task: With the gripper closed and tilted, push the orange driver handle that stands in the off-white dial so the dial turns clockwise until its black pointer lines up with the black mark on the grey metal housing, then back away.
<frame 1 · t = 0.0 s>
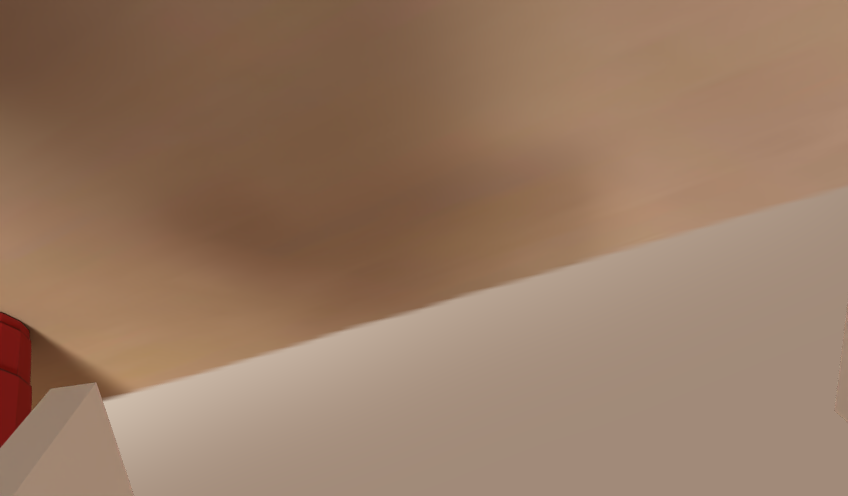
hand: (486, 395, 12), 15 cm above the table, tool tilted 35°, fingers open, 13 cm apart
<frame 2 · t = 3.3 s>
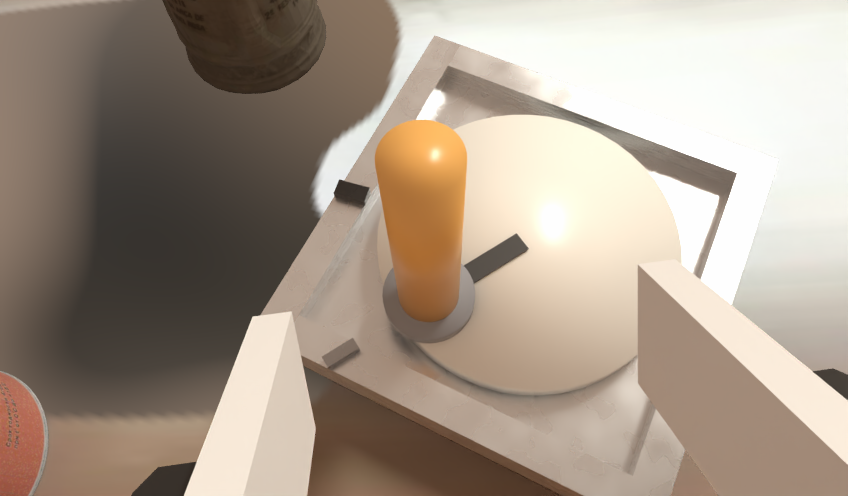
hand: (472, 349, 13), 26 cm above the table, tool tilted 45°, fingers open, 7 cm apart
beer stein: (271, 20, 52), on the table
dial: (538, 183, 33), point 11 cm above the table, hinge at 0.0°
housing: (520, 264, 43), on the table
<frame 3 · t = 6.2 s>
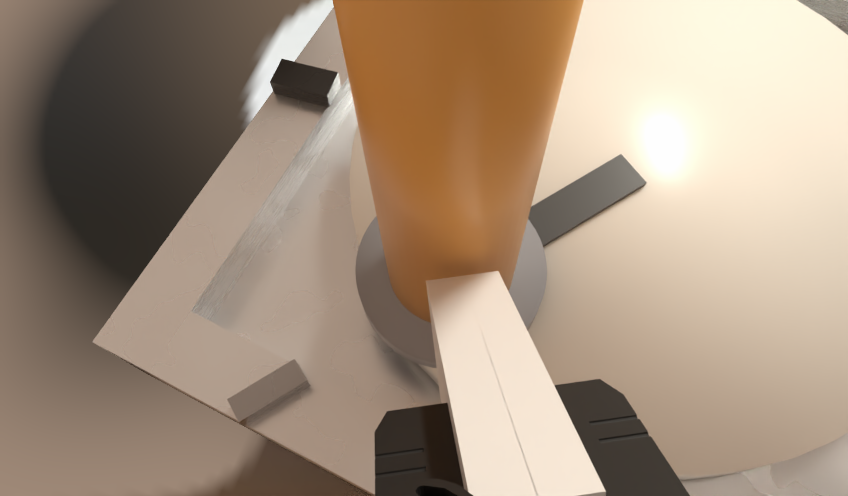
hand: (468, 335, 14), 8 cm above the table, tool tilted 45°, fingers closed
dial: (718, 3, 14), point 11 cm above the table, hinge at 0.5°, touching gripper
housing: (613, 221, 24), on the table
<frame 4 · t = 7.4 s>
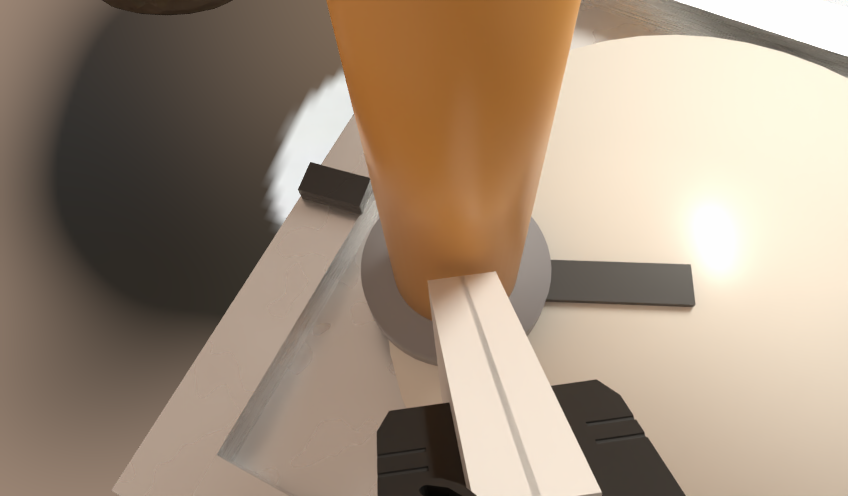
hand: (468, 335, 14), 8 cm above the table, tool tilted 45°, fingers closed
dial: (814, 161, 12), point 11 cm above the table, hinge at 35.4°, touching gripper
housing: (666, 326, 22), on the table
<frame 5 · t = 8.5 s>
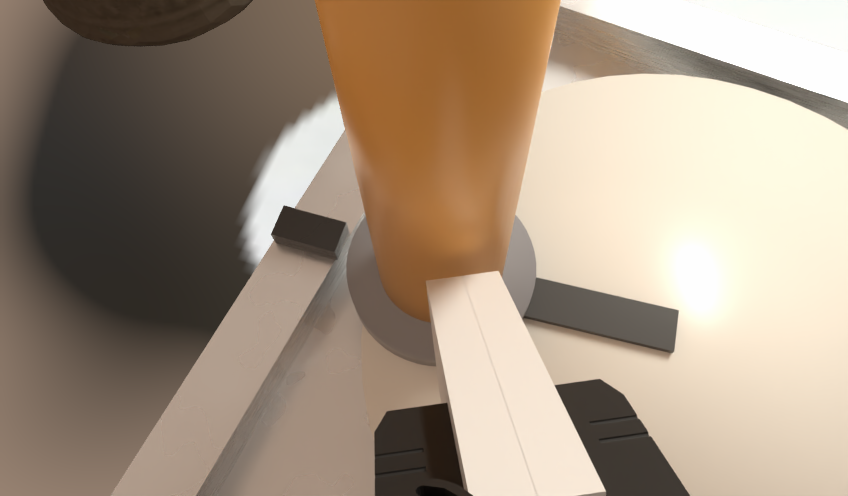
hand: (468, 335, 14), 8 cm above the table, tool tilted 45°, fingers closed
dial: (798, 222, 12), point 11 cm above the table, hinge at 47.7°
housing: (649, 370, 21), on the table
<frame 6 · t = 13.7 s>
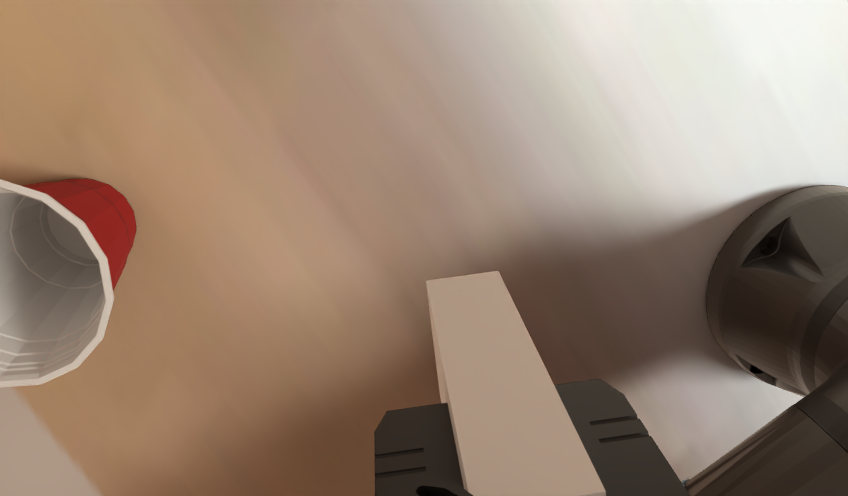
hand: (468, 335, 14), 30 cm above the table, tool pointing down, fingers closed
plastic cup: (93, 216, 43), on the table
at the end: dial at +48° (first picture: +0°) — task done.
